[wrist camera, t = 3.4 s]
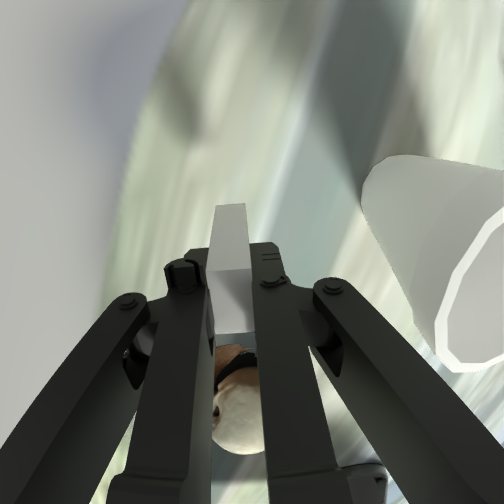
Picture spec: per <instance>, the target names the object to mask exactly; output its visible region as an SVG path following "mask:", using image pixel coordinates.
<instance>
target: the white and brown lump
mask: <svg viewBox="0 0 504 504" xmlns="http://www.w3.org/2000/svg"><path fill="white" fill-rule="evenodd" d="M249 349H253V348H249ZM249 349H247V348H245V349H243V347H242V348H241V345H240V346H238V344H237V345H236V344H230V345H224V346H219V347H216V348H215V368H214V391H213V419H212V438H213V440H214V441H215V442H216V443H217V444H218V445H219V446H221V447H222V448H224V449H225V450H227V451H230V452H233V453H235V454H255V453H259V452H262V451H264V450H265V449H264V437H263V425H262V413H261V401H260V389H259V377H258V364H257V357H254V356H255V354H254V353H249V352H248V353H245V354H242V355H240V354H241V353H243V352H245V351H247V350H249Z"/></svg>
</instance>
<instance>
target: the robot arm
mask: <svg viewBox="0 0 504 504" xmlns="http://www.w3.org/2000/svg"><path fill="white" fill-rule="evenodd" d="M164 272H165V276H166V281H167V285H168V292H167V296H165V297H163V298H160V299H157V300H153V301H149V302H147V299H146V297H145V296H144V295H143V294H141V293H126V294H123V295H121V296H119V297H117V298H116V299H115V300H114V301H113V302H112V303H111V304H110V305H109V306H108V308H107V309H106V310H105V311H104V312H103V313H102V315H101V316H100V317H99V318H98V319H97V321H96V322H95V323H94V324H93V325H92V327H91V328H90V329H89V330H88V332H87V333H86V334H85V335H84V336H83V338H82V339H81V340H80V341H79V343H78V344H77V345H76V346H75V348H74V349H73V350H72V351H71V353H70V354H69V355H68V357H67V358H66V359H65V360H64V362H63V363H62V364H61V365H60V367H59V368H58V369H57V371H56V372H55V373H54V375H53V376H52V377H51V379H50V380H49V381H48V383H47V384H46V385H45V387H44V388H43V389H42V391H41V392H40V393H39V395H38V396H37V397H36V399H35V400H34V401H33V403H32V404H31V406H30V407H29V408H28V410H27V411H26V413H25V414H24V415H23V417H22V418H21V420H20V421H19V422H18V424H17V425H16V427H15V428H14V430H13V431H12V433H11V434H10V435H9V437H8V438H7V440H6V441H5V443H4V444H3V446H2V448H1V449H0V504H89V503H90V501H91V499H92V497H93V495H94V493H95V491H96V489H97V487H98V485H99V483H100V481H101V479H102V477H103V475H104V473H105V471H106V469H107V467H108V465H109V463H110V461H111V459H112V457H113V455H114V453H115V451H116V449H117V447H118V445H119V443H120V441H121V439H122V437H123V435H124V434H125V432H126V430H127V428H128V426H129V424H130V422H131V420H132V418H133V416H134V414H135V412H136V410H137V413H136V417H135V422H134V426H133V431H132V436H131V441H130V446H129V451H128V456H127V461H126V466H125V469H124V471H123V472H122V473H121V474H118V475H115V476H114V477H113V479H112V480H111V482H110V486H109V489H108V494H107V499H106V504H211V454H212V419H213V391H214V368H215V347H216V343H215V337H214V328H215V333H216V334H231V333H246V332H255V340H256V353H257V364H258V377H259V389H260V401H261V413H262V425H263V437H264V449H265V460H266V472H267V484H268V496H269V504H386V501H387V488H388V476H387V473H386V470H385V467H386V469H387V470H388V472H389V473H390V475H391V476H392V478H393V479H394V481H395V482H396V484H397V486H398V487H399V489H400V490H401V492H402V493H403V495H404V496H405V498H406V499H407V501H408V503H409V504H504V448H503V447H502V446H501V445H500V444H499V443H498V441H497V440H496V439H495V438H494V437H493V435H492V434H491V433H490V432H489V431H488V430H487V428H486V427H485V426H484V425H483V424H482V423H481V422H480V420H479V419H478V418H477V417H476V416H475V415H474V414H473V412H472V411H471V410H470V409H469V408H468V407H467V406H466V405H465V403H464V402H463V401H462V400H461V399H460V398H459V397H458V396H457V394H456V393H455V392H454V391H453V390H452V389H451V388H450V387H449V386H448V385H447V383H446V382H445V381H444V380H443V379H442V378H441V377H440V376H439V375H438V374H437V373H436V371H435V370H434V369H433V368H432V367H431V366H430V365H429V364H428V363H427V362H426V361H425V360H424V359H423V358H422V356H421V355H420V354H419V353H418V352H417V351H416V350H415V349H414V348H413V347H412V346H411V345H410V344H409V343H408V342H407V341H406V340H405V339H404V338H403V337H402V335H401V334H400V333H399V332H398V331H397V330H396V329H395V328H394V327H393V326H392V325H391V324H390V323H389V322H388V321H387V320H386V319H385V318H384V317H383V316H382V315H381V314H380V313H379V312H378V311H377V310H376V309H375V308H374V307H373V306H372V305H371V304H370V303H369V302H368V301H367V300H366V299H365V298H364V297H363V296H362V295H361V294H360V293H359V292H358V291H357V290H356V289H355V288H354V287H353V286H352V285H351V284H350V283H349V282H347V281H346V280H343V279H340V278H336V277H335V278H334V277H329V278H323V279H320V280H318V281H317V282H316V283H315V284H314V287H313V289H312V288H303V287H299V286H296V285H294V284H292V283H291V281H290V279H289V277H288V276H286V275H285V271H284V267H283V263H282V260H281V256H280V252H279V248H278V246H276V245H275V244H274V243H273V242H265V243H251V244H249V237H248V226H247V215H246V205H245V203H242V204H229V205H217V206H216V208H215V214H214V220H213V226H212V233H211V239H210V245H209V248H197V249H190V250H189V251H188V252H187V253H186V254H185V255H184V258H181V259H177V260H174V261H171V262H170V263H168V264H167V265H166V266H165V268H164ZM308 346H310V349H311V352H312V353H313V355H314V357H315V358H316V360H317V361H318V363H319V364H320V366H321V368H322V369H323V371H324V372H325V374H326V375H327V377H328V378H329V380H330V382H331V383H332V385H333V386H334V388H335V389H336V391H337V392H338V394H339V396H340V397H341V399H342V400H343V402H344V403H345V405H346V406H347V408H348V410H349V411H350V413H351V414H352V416H353V417H354V419H355V420H356V422H357V424H358V425H359V427H360V428H361V430H362V431H363V433H364V434H365V436H366V438H367V439H368V441H369V442H370V444H371V445H372V447H373V448H374V450H375V452H376V453H377V455H378V456H379V458H380V459H381V461H382V462H383V464H384V465H385V467H384V466H382V465H379V464H363V465H356V466H351V467H346V468H342V469H341V468H340V467H338V465H337V462H336V459H335V455H334V450H333V446H332V442H331V437H330V433H329V429H328V425H327V420H326V416H325V412H324V408H323V404H322V400H321V396H320V392H319V388H318V384H317V380H316V376H315V372H314V368H313V364H312V360H311V356H310V352H309V348H308ZM125 351H126V352H125ZM124 353H125V354H124Z"/></svg>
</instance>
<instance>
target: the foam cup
mask: <svg viewBox="0 0 504 504" xmlns="http://www.w3.org/2000/svg"><path fill="white" fill-rule="evenodd" d="M360 203H361V206H362V210H363V213H364V216H365V220H366V221H367V224H368V226H369V227H370V229H371V231H372V233H373V234H374V236H375V238H376V240H377V242H378V243H379V245H380V247H381V249H382V251H383V253H384V255H385V256H386V258H387V260H388V262H389V264H390V266H391V268H392V270H393V272H394V274H395V276H396V277H397V279H398V281H399V283H400V285H401V287H402V289H403V291H404V293H405V295H406V298H407V300H408V302H409V304H410V306H411V308H412V311H413V319H414V324H415V325H416V327H417V328H418V330H419V331H420V333H421V334H422V336H423V337H424V339H425V340H426V342H427V344H428V345H429V347H430V348H431V350H432V351H433V353H434V355H435V356H436V357H437V358H438V359H439V360H440V361H441V362H442V363H443V364H444V365H445V366H446V367H447V368H448V369H450V370H451V371H452V372H479V371H481V370H483V369H486V368H488V367H490V366H492V365H494V364H496V363H498V362H500V361H502V360H504V170H502V171H501V170H496V169H491V168H486V167H482V166H476V165H471V164H466V163H460V162H455V161H449V160H443V159H437V158H430V157H423V156H416V155H406V154H404V155H395V156H388V157H387V158H385V159H384V160H383V161H381V162H380V163H378V164H377V165H375V166H374V167H373V168H372V170H371V171H370V173H369V175H368V176H367V178H366V180H365V181H364V183H363V188H362V196H361V202H360Z"/></svg>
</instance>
